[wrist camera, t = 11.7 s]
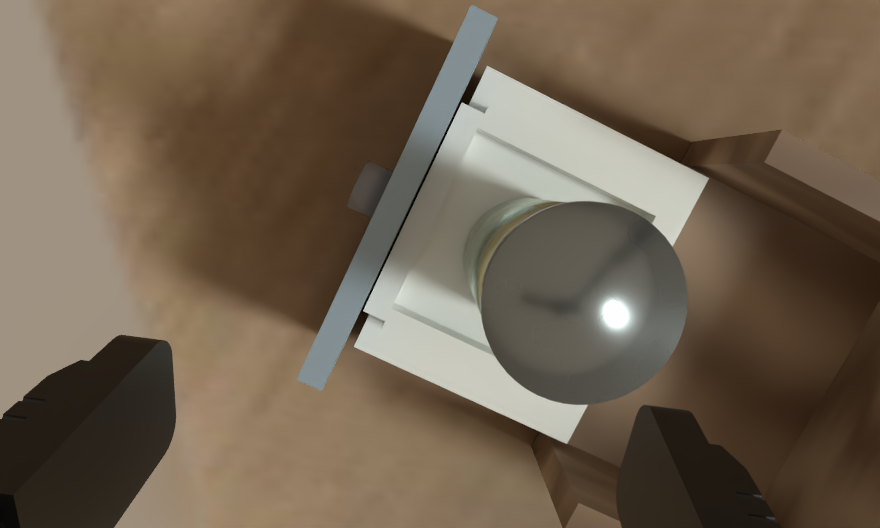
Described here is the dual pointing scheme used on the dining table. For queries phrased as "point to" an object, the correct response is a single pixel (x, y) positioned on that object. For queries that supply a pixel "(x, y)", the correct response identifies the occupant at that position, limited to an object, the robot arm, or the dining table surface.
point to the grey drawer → (458, 209)
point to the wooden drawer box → (761, 341)
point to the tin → (575, 296)
